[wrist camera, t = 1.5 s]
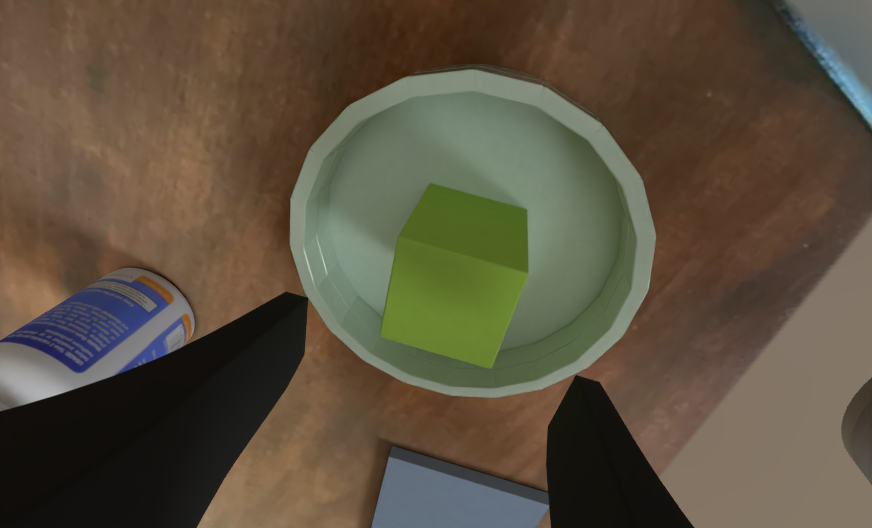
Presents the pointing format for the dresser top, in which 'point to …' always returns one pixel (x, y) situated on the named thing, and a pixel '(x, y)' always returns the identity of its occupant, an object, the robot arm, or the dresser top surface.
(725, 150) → the dresser top surface
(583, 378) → the robot arm
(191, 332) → the pill bottle
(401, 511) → the mat
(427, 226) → the cube
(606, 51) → the dresser top surface
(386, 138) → the basin
